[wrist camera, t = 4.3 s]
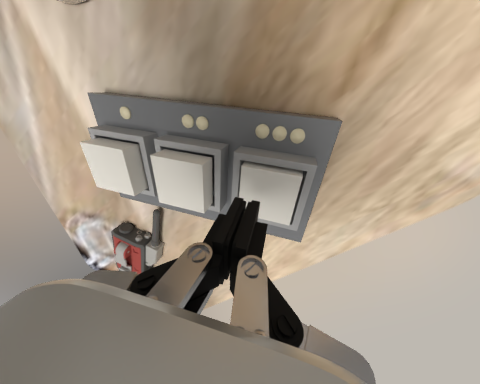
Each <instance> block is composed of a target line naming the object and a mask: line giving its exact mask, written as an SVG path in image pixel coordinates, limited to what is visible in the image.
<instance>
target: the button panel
mask: <svg viewBox="0 0 480 384" xmlns="http://www.w3.org/2000/svg"><path fill="white" fill-rule="evenodd" d="M88 96H89V99H90V102H91V105H92V108H93V111H94V115H95V118H96V121H97V124H98V126H96V127H90V128H88V131H89V134H90V136H91V139H95V138H105V139H111V140H116V141H122V142H128V143H133V144H139V148H140V153H141V157H142V162H143V167H144V171H145V176H146V180H147V185H148V188H147V189H145V190H144V191H142V192H141V193H139V194H137V195H136V196H131V195H127V194H123V193H120V196H121V197H124V198H128V199H132V200H136V201H140V202H144V203H148V204H152V205H156V206H160V207H164V208H167V209H171V210H175V211H179V212H183V213H187V214H191V215H195V216H199V217H203V218H207V219H211V220H216V218H217V217H218V215H219V214H225V215H226V214H227V212H228V210H229V208H230V206H231V204H232V202H233V200H234V198H235V197H239V191H240V178H241V166H242V165H243V163H244V162H245V161H250V162H256V163H261V164H267V165H273V166H279V167H285V168H290V169H296V170H302V171H303V178H302V182H301V185H300V189H299V192H298V196H297V199H296V203H295V207H294V210H293V214H292V217H291V221H290V225H285V224H280V223H276V222H272V221H268V220H264V219H259V218H258V221H257V222H261V223H266V224H268V226H267V231H266V234H270V235H274V236H278V237H282V238H286V239H290V240H294V241H297V242H301V240H302V237H303V234H304V231H305V228H306V225H307V222H308V220H309V217H310V214H311V211H312V208H313V205H314V202H315V199H316V196H317V193H318V191H319V188H320V185H321V182H322V179H323V176H324V173H325V170H326V167H327V164H328V161H329V159H330V156H331V153H332V150H333V147H334V144H335V141H336V138H337V135H338V132H339V129H340V127H341V124H342V121H341V120H340V119H338V118H333V117H324V116H315V115H306V114H296V113H287V112H278V111H269V110H260V109H251V108H241V107H232V106H223V105H214V104H205V103H196V102H186V101H177V100H168V99H159V98H150V97H141V96H131V95H122V94H113V93H88ZM163 149H168V150H173V151H179V152H185V153H190V154H196V155H202V156H207V157H212V183H213V203H212V204H211V205H210V207H209V208H208V209H207V211H206V212H205V213H200V212H196V211H192V210H188V209H184V208H180V207H176V206H172V205H168V204H164V203H160V202H159V199H158V193H157V188H156V183H155V178H154V173H153V167H152V162H151V157H150V155H152V154H154V153H156V152H159V151H161V150H163Z"/></svg>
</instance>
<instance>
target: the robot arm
mask: <svg viewBox="0 0 480 384" xmlns="http://www.w3.org/2000/svg"><path fill="white" fill-rule="evenodd" d="M57 1H60V2H63V3H67V4H78V3H81V2H84V1H86V0H57ZM259 207H260V202H259V201H254V200H252V201H251V202H248V204H247V207H246V201H244V199H243V198H239V197H235V198H234V200H233V202H232V204H231V206H230V208H229V210H228V212H227V214H226V215H225V214H219V215H218V217H217V218H216V220H215V222H214V224H213V225H212V227H211V229H210V231H209V232H208V234H207V236H206V238H205V239H204V241H203V243H202V242H200V243H194V244H192V245H190V246H189V247H188V248H187V249H186V250H185V251H184V252H183V253H182V255H181V256H180V257H179V258H177V259H174V260H172V261H169V262H167V263H164V264H162V265H159V266H157V267H154V268H151V269H149V270H146V271H144V272H142V273H140V274H137V272H132V271H110V270H98V271H94V272H92V273H90V274H88V275H87V276H85V277H84V278H83V279H63V280H55V281H49V282H45V283H41V284H38V285H36V286H33V287H30V288H29V289H27V290H25V291H23V292H21V293H20V294H18V295H16V296H15V297H13V298H12V299H10V300H9V301H7V302H6V303H4V304H3V305H1V306H0V384H376V383H375V378H374V373H373V371H372V369H371V367H370V365H369V363H368V362H367V361H366V360H365V358H364V357H363V356H362V355H360V354H359V353H358V352H357V351H355V350H353V349H351V348H350V347H348V346H346V345H345V344H343V343H341V342H339V341H337V340H336V339H334V338H332V337H330V336H329V335H327V334H325V333H323V332H322V331H320V330H318V329H316V328H314V327H313V326H311V325H310V326H307V325H305V324H303V323H302V322H301V321H300V320H299V318H298V316H297V315H296V314H295V312H294V311H293V310H292V308H291V307H290V306H289V305H288V303H287V302H286V301H285V299H284V298H283V296H282V295H281V294H280V292H279V291H278V290H277V288H276V287H275V286H274V284H273V283H272V282H271V280H270V279H269V278H268V276H267V266H266V264H265V262H264V261H263V260H262V253H263V248H264V242H265V237H266V231H267V226H268V224H266V223H261V222H257V221H258V214H259ZM229 274H230V290H231V292H232V294H233V296H234V298H233V306H232V315H231V322H230V324H227V323H224V322H220V321H218V320H215V319H212V318H209V317H206V316H203V315H200V314H201V312H202V310H203V308H204V306H205V305H206V303H207V301H208V299H209V297H210V296H211V294H212V292H213V289H214V288H216V287H218V286H219V284H223V281H224V279H226V280H227V279H228V277H229Z"/></svg>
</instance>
